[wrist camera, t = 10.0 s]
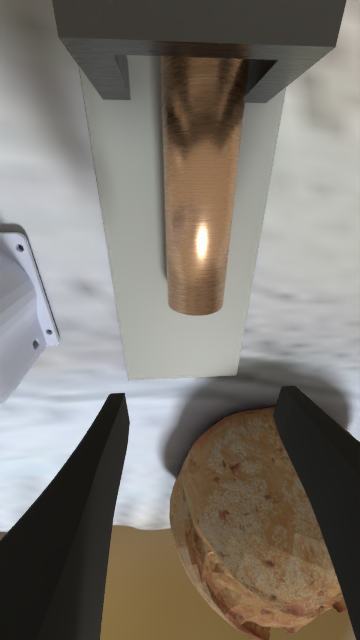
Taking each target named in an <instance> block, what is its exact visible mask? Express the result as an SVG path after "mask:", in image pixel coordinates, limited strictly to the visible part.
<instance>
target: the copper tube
mask: <svg viewBox="0 0 360 640" xmlns="http://www.w3.org/2000/svg"><path fill="white" fill-rule="evenodd" d="M249 62H250V59H234V58H203V57H171V56H161V84H162V119H163V154H164V189H165V223H166V258H167V293H168V305H169V307H170V308H171V309H172V310H174V311H176V312H178V313H181V314H185V315H192V316H203V315H209V314H213V313H215V312H217V311H219V310H220V309H221V308H222V307H223V301H224V292H225V282H226V273H227V264H228V255H229V246H230V236H231V227H232V218H233V209H234V200H235V190H236V181H237V172H238V163H239V154H240V144H241V135H242V126H243V117H244V108H245V98H246V89H247V80H248V71H249Z"/></svg>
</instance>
